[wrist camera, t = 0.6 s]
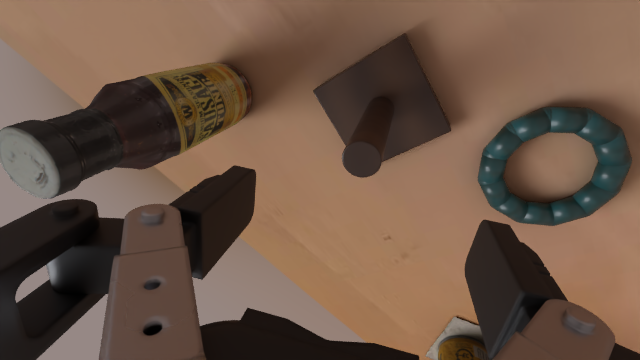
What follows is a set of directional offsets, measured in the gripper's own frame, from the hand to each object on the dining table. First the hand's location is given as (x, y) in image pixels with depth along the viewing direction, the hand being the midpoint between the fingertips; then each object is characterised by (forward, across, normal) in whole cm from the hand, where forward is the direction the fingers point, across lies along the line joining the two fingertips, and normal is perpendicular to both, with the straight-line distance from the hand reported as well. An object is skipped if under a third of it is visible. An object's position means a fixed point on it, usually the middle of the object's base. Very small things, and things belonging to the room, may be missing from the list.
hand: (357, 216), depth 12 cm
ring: (+20, -15, +2) cm, 25 cm away
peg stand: (+21, 0, 0) cm, 21 cm away
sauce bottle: (+22, +16, +1) cm, 27 cm away
